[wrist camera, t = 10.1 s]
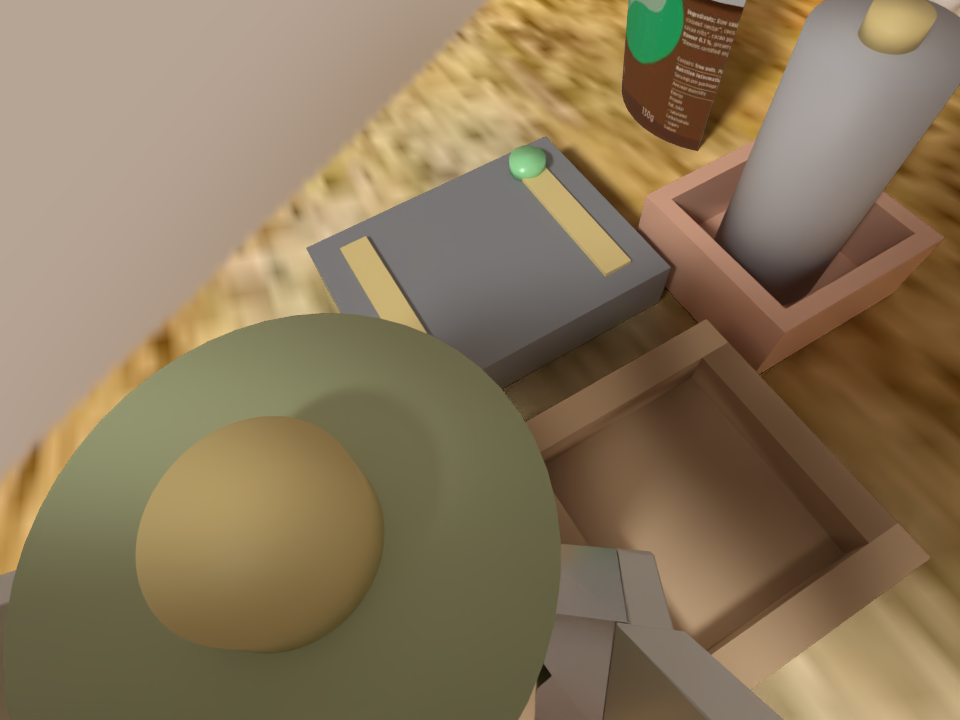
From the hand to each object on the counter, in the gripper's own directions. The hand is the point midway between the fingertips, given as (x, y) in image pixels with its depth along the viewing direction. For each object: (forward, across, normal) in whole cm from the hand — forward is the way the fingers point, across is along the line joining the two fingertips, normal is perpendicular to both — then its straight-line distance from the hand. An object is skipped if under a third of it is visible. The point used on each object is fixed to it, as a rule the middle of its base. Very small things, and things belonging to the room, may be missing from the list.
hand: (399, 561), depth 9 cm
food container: (+28, -7, -11) cm, 31 cm away
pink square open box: (+19, -11, -3) cm, 22 cm away
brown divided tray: (+10, -4, +7) cm, 13 cm away
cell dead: (+19, -11, -3) cm, 22 cm away
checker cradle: (+18, +1, -1) cm, 18 cm away
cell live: (+4, 0, +4) cm, 6 cm away
